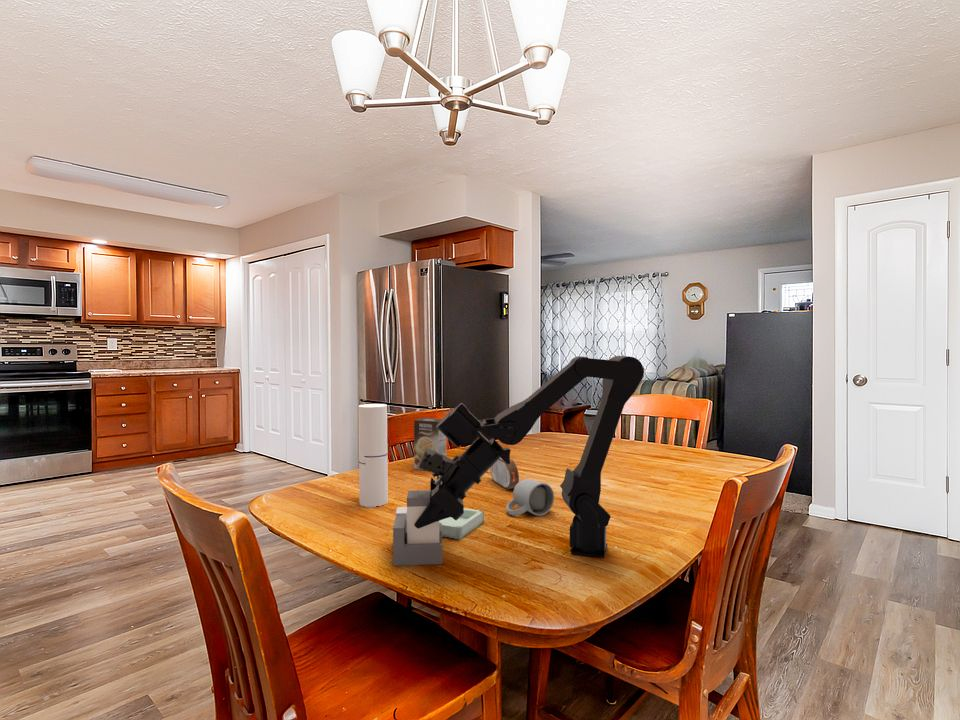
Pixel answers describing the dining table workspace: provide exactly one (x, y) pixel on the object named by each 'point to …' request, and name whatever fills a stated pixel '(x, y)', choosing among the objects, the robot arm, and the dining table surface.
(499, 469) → the tin
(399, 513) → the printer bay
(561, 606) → the dining table surface
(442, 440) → the coffee box
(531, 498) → the ceramic mug
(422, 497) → the block
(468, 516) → the tray
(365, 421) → the cylindrical container
